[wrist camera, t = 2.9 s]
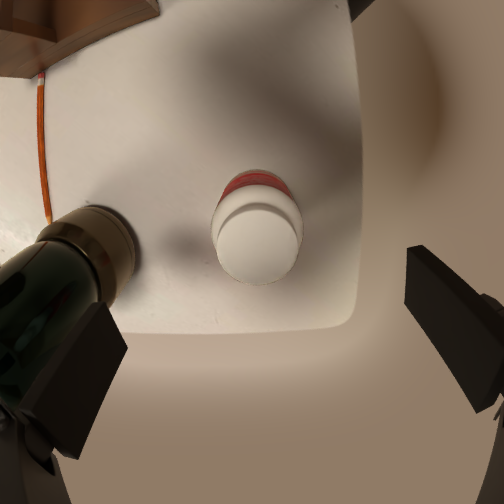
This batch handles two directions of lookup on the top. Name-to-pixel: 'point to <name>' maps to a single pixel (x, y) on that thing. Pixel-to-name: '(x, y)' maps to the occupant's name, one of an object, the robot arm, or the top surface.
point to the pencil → (42, 147)
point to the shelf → (60, 29)
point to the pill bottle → (257, 228)
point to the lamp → (57, 290)
